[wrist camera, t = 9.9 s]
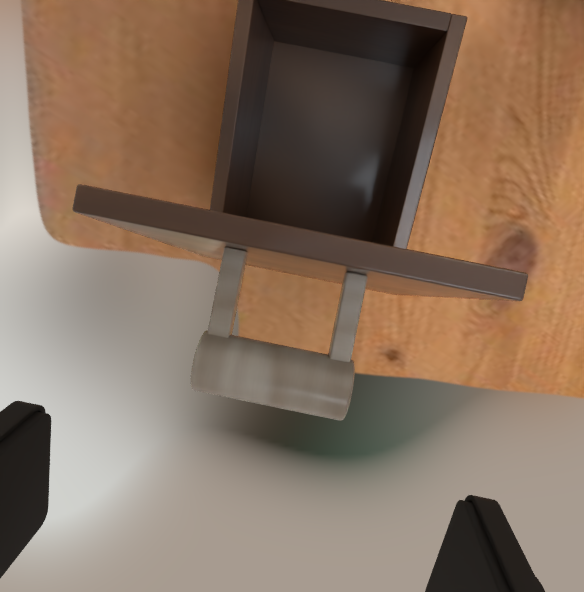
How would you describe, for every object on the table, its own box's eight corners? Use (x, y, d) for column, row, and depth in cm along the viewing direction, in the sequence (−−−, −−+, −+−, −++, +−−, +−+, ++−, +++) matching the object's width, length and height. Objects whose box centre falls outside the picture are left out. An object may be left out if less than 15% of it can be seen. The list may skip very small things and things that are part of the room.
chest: (266, 29, 36) (241, -27, 25) (426, 60, 36) (467, 16, 25) (235, 227, 40) (204, 248, 30) (378, 255, 40) (396, 287, 30)
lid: (75, 183, 13) (38, 379, 13) (530, 273, 12) (488, 472, 13) (203, 243, 29) (186, 328, 29) (399, 282, 29) (381, 368, 29)
